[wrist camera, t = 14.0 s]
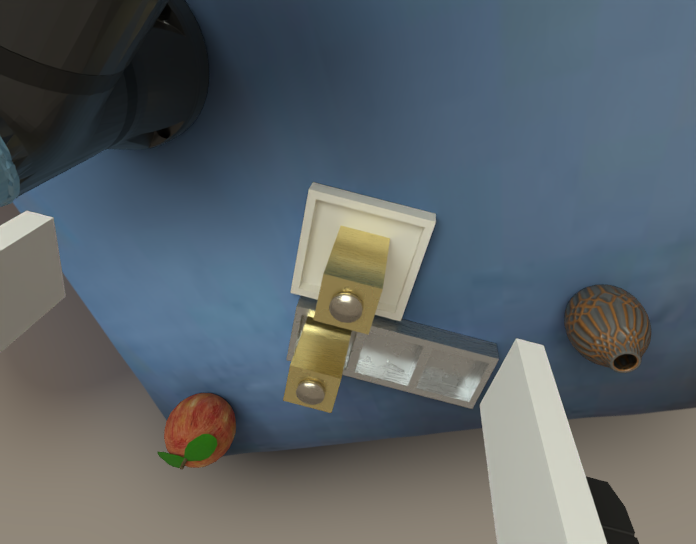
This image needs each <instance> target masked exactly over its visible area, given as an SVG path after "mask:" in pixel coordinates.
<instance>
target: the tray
mask: <svg viewBox="0 0 696 544" xmlns="http://www.w3.org/2000/svg"><path fill="white" fill-rule="evenodd" d="M435 223H436V214H434V213H431V212H427V211H423V210H419V209H415V208H411V207H407V206H404V205H400V204H396V203H392V202H388V201H384V200H380V199H376V198H373V197H369V196H365V195H361V194H357V193H353V192H349V191H346V190H342V189H338V188H334V187H330V186H326V185H322V184H319V183H315V182H313V183H312V185H311V186H310V188H309V191H308V197H307V202H306V208H305V214H304V219H303V225H302V231H301V236H300V242H299V248H298V253H297V259H296V264H295V270H294V276H293V281H292V287H291V293H294V294H298V295H301V296H305V297H309V298H313V299H317V300H318V296H319V291H320V287H321V282H322V278H323V273H324V271H325V268H326V265H327V262H328V259H329V257H330V254H331V251H332V248H333V245H334V243H335V240H336V237H337V234H338V231H339V229H340V226H345V227H349V228H353V229H357V230H360V231H364V232H368V233H372V234H376V235H380V236H384V237H387V238H390V243H389V250H388V256H387V263H386V270H385V277H384V284H383V290H382V293H381V296H380V300H379V303H378V306H377V309H376V312H375V315H378V316H382V317H386V318H390V319H393V320H397V321H401V319H402V316H403V313H404V310H405V308H406V305H407V302H408V299H409V296H410V293H411V291H412V288H413V285H414V282H415V279H416V277H417V274H418V271H419V268H420V265H421V263H422V260H423V257H424V254H425V251H426V248H427V246H428V243H429V240H430V237H431V234H432V232H433V229H434V226H435Z"/></svg>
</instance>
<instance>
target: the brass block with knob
mask: <svg viewBox="0 0 696 544" xmlns="http://www.w3.org/2000/svg"><path fill="white" fill-rule="evenodd" d="M313 319H314V318H313V317H310V316H308V317H307V320H306V323H305V325H304V328H303V331H302V334H301V336H300V339H299V342H298V345H297V348H296V350H295V353H294V356H293V359H292V362H291V364H290V369H289V374H288V379H287V384H286V389H285V394H284V399H283V401H287V402H291V403H295V404H299V405H302V406H306V407H310V408H314V409H318V410H321V411H325V412H329V413H332V409H333V406H334V402H335V399H336V395H337V392H338V389H339V385H340V382H341V378H342V373H343V369H344V364H345V360H346V355H347V350H348V346H349V341H350V336H351V332H352V330H349V329H345V328H341V327H337V326H333V325H330V324H326V323H322V322H318V321H314V320H313Z"/></svg>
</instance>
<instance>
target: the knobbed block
mask: <svg viewBox="0 0 696 544" xmlns="http://www.w3.org/2000/svg"><path fill="white" fill-rule="evenodd" d="M389 243H390V238H387V237H384V236H380V235H376V234H372V233H368V232H364V231H360V230H357V229H353V228H349V227H345V226H340V229H339V231H338V234H337V237H336V240H335V243H334V245H333V248H332V251H331V254H330V257H329V259H328V262H327V265H326V268H325V271H324V273H323V278H322V282H321V287H320V291H319V296H318V301H317V305H316V310H315V314H314V319H313V320H314V321H318V322H322V323H326V324H330V325H333V326H337V327H341V328H345V329H349V330H353V331H356V332H360V333H364V334H368V335H369V332H370V328H371V325H372V322H373V319H374V316H375V312H376V309H377V306H378V303H379V300H380V296H381V293H382V290H383V284H384V277H385V270H386V263H387V256H388V250H389Z"/></svg>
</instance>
